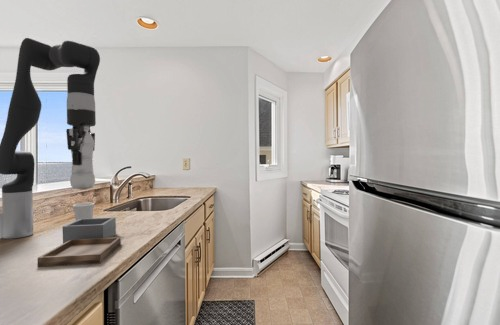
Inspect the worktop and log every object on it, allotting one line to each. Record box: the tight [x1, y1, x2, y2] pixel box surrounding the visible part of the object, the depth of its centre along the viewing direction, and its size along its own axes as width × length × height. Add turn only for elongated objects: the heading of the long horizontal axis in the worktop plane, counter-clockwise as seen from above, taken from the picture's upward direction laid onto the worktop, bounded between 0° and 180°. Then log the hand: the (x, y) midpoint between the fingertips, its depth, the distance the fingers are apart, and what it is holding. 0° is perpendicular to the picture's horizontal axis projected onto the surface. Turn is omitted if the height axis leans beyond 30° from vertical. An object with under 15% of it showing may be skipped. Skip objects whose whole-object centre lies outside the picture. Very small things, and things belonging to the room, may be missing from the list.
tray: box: [37, 236, 122, 268], centre depth 87 cm, size 16×18×2 cm
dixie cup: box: [72, 202, 95, 221], centre depth 126 cm, size 8×8×10 cm
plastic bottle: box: [69, 125, 96, 191], centre depth 87 cm, size 6×7×20 cm
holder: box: [62, 217, 117, 244], centre depth 104 cm, size 13×13×6 cm
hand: (82, 164), depth 87 cm, fingers closed on plastic bottle, 6 cm apart
